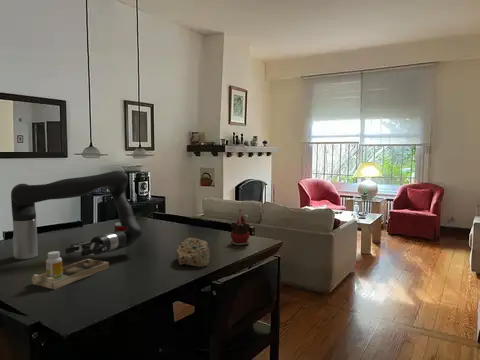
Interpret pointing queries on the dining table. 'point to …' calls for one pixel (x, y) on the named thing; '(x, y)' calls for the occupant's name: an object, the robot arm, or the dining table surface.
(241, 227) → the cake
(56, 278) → the supplement bottle
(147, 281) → the dining table surface
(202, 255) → the rock
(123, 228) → the canned food
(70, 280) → the wooden tray
